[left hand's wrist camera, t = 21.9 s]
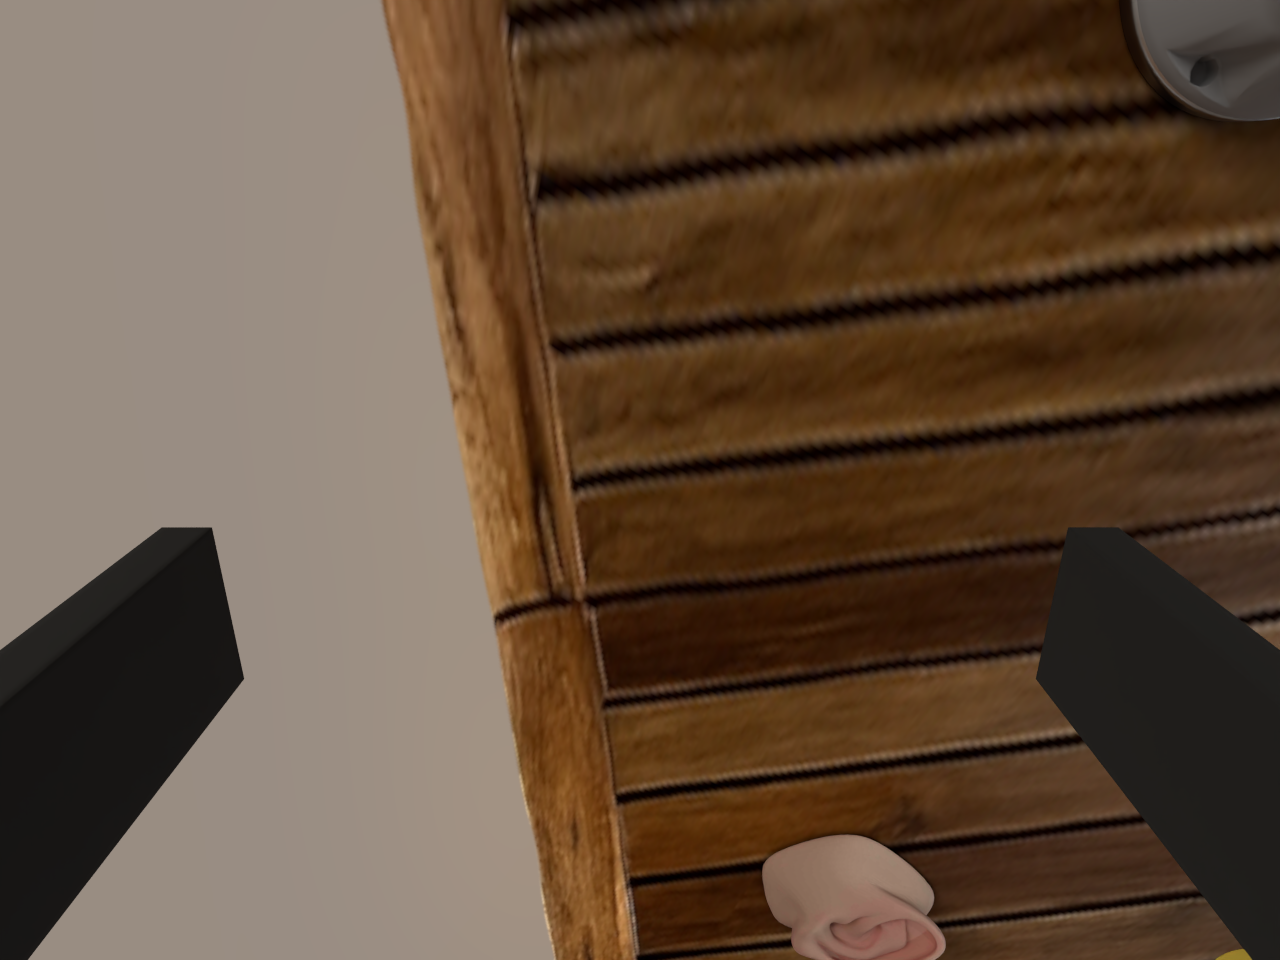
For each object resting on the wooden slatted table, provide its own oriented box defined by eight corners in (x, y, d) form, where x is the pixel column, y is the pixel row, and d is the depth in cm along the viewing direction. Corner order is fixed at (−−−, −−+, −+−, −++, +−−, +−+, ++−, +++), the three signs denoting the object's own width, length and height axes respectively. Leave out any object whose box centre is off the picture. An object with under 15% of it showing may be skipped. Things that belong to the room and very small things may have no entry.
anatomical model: (740, 918, 59) (875, 845, 56) (734, 874, 63) (860, 803, 60) (838, 1017, 63) (968, 953, 60) (827, 970, 66) (949, 907, 64)
